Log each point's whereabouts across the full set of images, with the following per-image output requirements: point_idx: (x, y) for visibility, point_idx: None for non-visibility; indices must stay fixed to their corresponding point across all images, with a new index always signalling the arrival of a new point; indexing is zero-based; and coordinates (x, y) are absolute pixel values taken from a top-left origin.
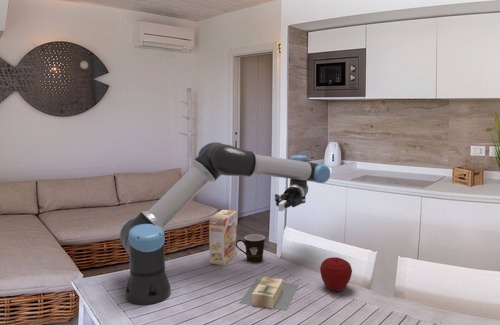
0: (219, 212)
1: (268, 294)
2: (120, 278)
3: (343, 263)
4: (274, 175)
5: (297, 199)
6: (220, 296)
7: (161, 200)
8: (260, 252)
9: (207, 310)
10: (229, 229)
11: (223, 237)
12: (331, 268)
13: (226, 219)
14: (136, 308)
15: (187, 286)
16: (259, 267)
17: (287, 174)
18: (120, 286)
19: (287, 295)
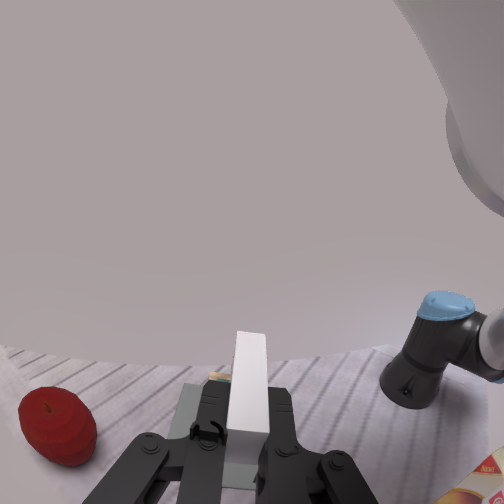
0: None
1: (220, 376)
2: (470, 401)
3: (38, 390)
4: (493, 186)
5: (94, 493)
6: (315, 412)
7: None
8: None
9: (309, 376)
10: None
11: (450, 490)
12: (73, 393)
13: (495, 470)
14: (387, 363)
15: (387, 422)
16: None
17: (425, 43)
18: (449, 389)
19: (184, 427)
